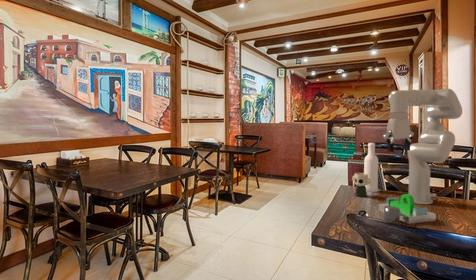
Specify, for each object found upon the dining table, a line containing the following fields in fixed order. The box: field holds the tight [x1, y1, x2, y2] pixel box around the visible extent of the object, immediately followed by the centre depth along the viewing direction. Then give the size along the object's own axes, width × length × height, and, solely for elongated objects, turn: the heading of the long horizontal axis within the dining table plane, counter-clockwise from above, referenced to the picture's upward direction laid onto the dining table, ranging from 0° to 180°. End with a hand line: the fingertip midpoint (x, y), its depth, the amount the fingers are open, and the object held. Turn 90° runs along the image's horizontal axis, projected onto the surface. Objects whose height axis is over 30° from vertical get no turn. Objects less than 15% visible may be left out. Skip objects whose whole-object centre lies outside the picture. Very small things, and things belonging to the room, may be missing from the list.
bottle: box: [363, 142, 379, 193], centre depth 167 cm, size 8×8×30 cm
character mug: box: [351, 172, 370, 197], centre depth 157 cm, size 11×7×13 cm, turn 34°
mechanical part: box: [390, 193, 418, 214], centre depth 125 cm, size 12×6×8 cm, turn 10°
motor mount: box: [377, 196, 437, 225], centre depth 124 cm, size 22×18×6 cm
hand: (398, 150), depth 132 cm, fingers open, 9 cm apart
